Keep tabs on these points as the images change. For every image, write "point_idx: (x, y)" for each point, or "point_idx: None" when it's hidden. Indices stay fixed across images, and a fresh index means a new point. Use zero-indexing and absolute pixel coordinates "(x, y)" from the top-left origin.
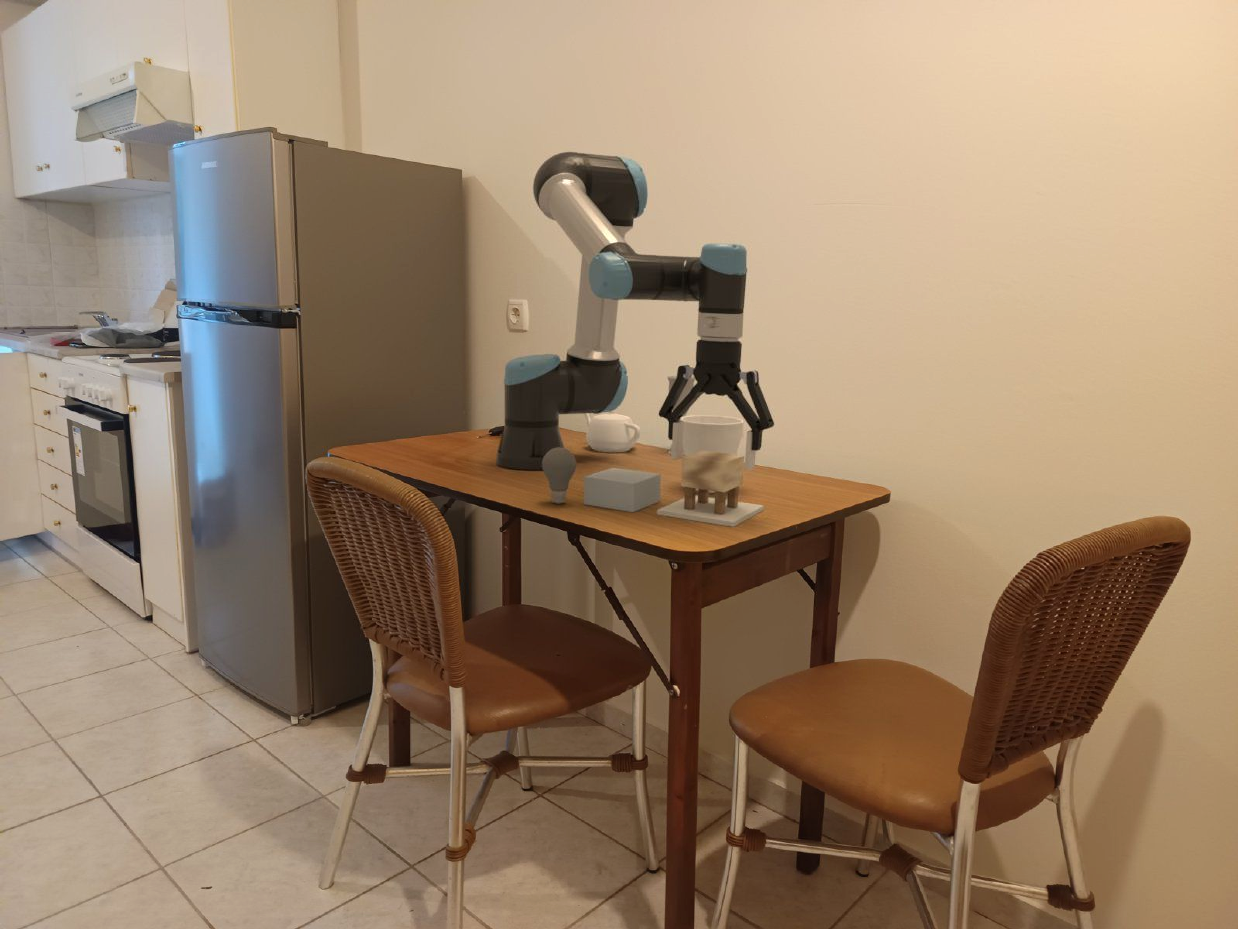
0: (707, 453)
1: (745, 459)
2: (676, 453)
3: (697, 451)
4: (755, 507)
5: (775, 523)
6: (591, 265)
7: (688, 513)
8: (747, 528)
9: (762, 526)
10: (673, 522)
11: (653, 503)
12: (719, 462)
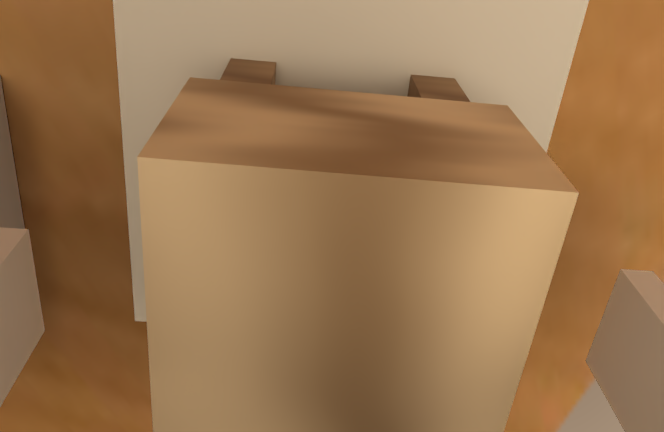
0: (244, 256)
1: (619, 416)
2: (22, 352)
3: None
4: (552, 45)
5: (656, 201)
6: None
7: None
8: (544, 322)
9: (601, 270)
10: None
11: (10, 147)
12: None
